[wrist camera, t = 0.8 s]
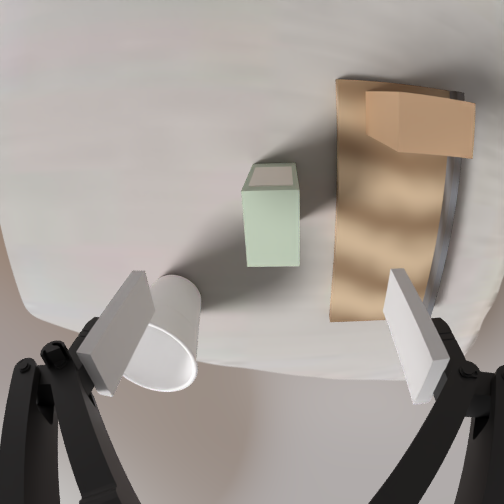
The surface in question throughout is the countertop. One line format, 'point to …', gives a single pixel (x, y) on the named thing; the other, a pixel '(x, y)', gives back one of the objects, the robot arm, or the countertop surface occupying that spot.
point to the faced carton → (421, 123)
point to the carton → (272, 215)
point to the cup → (168, 338)
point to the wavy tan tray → (387, 209)
